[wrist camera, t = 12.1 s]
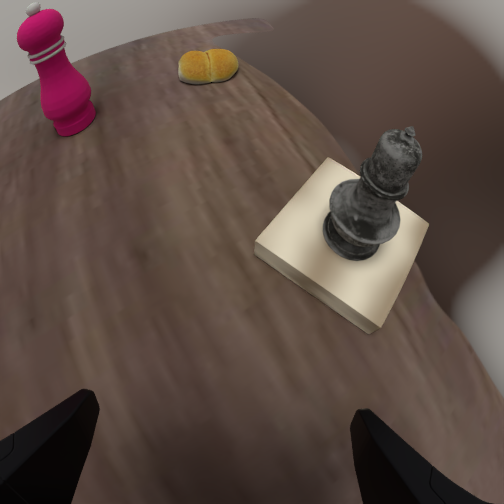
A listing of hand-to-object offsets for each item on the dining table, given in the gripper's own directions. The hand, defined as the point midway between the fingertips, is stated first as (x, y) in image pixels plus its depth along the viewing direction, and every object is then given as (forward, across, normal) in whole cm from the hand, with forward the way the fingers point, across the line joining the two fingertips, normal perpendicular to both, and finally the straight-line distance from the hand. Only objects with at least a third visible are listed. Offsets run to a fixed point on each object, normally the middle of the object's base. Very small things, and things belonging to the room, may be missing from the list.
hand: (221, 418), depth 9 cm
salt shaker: (+18, -9, -2) cm, 20 cm away
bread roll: (+40, +7, -20) cm, 45 cm away
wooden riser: (+19, -10, 0) cm, 22 cm away
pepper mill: (+32, +24, -12) cm, 42 cm away
